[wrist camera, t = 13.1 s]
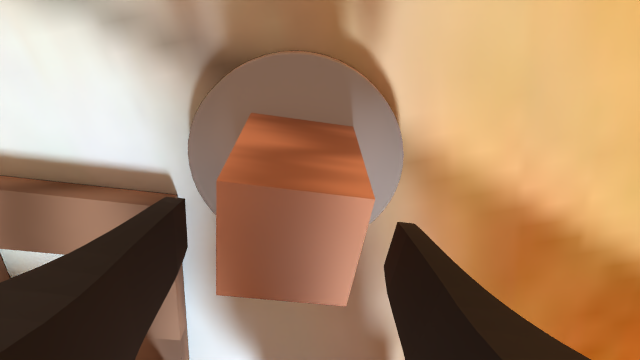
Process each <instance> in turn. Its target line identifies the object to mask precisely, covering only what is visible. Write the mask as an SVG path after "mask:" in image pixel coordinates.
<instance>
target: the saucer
mask: <svg viewBox="0 0 640 360" xmlns="http://www.w3.org/2000/svg"><path fill="white" fill-rule="evenodd" d="M251 113H257V114H265V115H272V116H279V117H287V118H294V119H301V120H308V121H316V122H323V123H330V124H338V125H345V126H352V127H354V131H355V134H356V137H357V141H358V144H359V147H360V150H361V154H362V157H363V160H364V164H365V167H366V170H367V174H368V177H369V180H370V184H371V187H372V190H373V194H374V197H375V202H374V206H373V210H372V213H371V217H370V221H369V224H370V223H371V222H372V221H374V220H375V219H376V218H377V217H378V216H379V215H380V213H381V212H382V211H383V210H384V209H385V207H386V206H387V204H388V203H389V202H390V200H391V198H392V196H393V194H394V193H395V191H396V188H397V186H398V183H399V180H400V176H401V172H402V167H403V155H404V154H403V141H402V137H401V132H400V128H399V125H398V123H397V120H396V117H395V115H394V113H393V112H392V110H391V108H390V106H389V104H388V103H387V101H386V100H385V98H384V97H383V96H382V94H381V93H380V92H379V90H378V89H377V88H376V87H375V85H373V84H372V83H371V82H370V81H369V80H368V79H367V78H366V77H365V76H364V75H363V74H361V73H360V72H359V71H357V70H356V69H354V68H353V67H351V66H349V65H347V64H346V63H344V62H342V61H340V60H337V59H335V58H332V57H329V56H326V55H322V54H318V53H313V52H305V51H282V52H276V53H271V54H266V55H263V56H260V57H257V58H254V59H251V60H249V61H247V62H245V63H244V64H242V65H240V66H238V67H236V68H235V69H234V70H232V71H231V72H230V73H228V74H227V75H226V76H225V77H224V78H223V79H221V80H220V81H219V82H218V83H217V84H216V85H215V86H214V87H213V88H212V89H211V90H210V92H209V93H208V94H207V96H206V97H205V98H204V100H203V101H202V102H201V104H200V106H199V108H198V110H197V112H196V114H195V116H194V119H193V122H192V125H191V129H190V134H189V140H188V157H189V165H190V169H191V173H192V177H193V180H194V182H195V185H196V187H197V189H198V191H199V193H200V195H201V196H202V198H203V200H204V201H205V203H206V204H207V205H208V206H209V208H210V209H211V210H212V211H213V212H214V213H215V214H216V181H217V179H218V177H219V175H220V173H221V171H222V169H223V167H224V165H225V163H226V161H227V159H228V157H229V155H230V153H231V151H232V149H233V147H234V145H235V143H236V141H237V139H238V137H239V135H240V133H241V131H242V129H243V128H244V126H245V124H246V122H247V120H248V118H249V116H250V114H251ZM369 224H368V225H369Z"/></svg>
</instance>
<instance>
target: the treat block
mask: <svg viewBox="0 0 640 360" xmlns="http://www.w3.org/2000/svg"><path fill="white" fill-rule="evenodd" d="M374 202H375V197H374V194H373V190H372V187H371V184H370V180H369V177H368V174H367V170H366V167H365V164H364V160H363V157H362V154H361V150H360V147H359V144H358V141H357V137H356V134H355V131H354V127H352V126H345V125H338V124H330V123H323V122H316V121H308V120H301V119H294V118H287V117H279V116H272V115H265V114H257V113H251V114H250V116H249V118H248V120H247V122H246V124H245V126H244V128H243V129H242V131H241V133H240V135H239V137H238V139H237V141H236V143H235V145H234V147H233V149H232V151H231V153H230V155H229V157H228V159H227V161H226V163H225V165H224V167H223V169H222V171H221V173H220V175H219V177H218V179H217V181H216V295H222V296H234V297H245V298H256V299H267V300H279V301H290V302H301V303H313V304H324V305H335V306H347V302H348V298H349V294H350V291H351V287H352V283H353V280H354V276H355V272H356V269H357V265H358V261H359V258H360V254H361V250H362V247H363V243H364V239H365V235H366V232H367V228H368V224H369V221H370V217H371V213H372V210H373V206H374Z"/></svg>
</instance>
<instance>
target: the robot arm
mask: <svg viewBox="0 0 640 360" xmlns="http://www.w3.org/2000/svg"><path fill="white" fill-rule="evenodd" d="M187 248H188V245H187V227H186V210H185V199H183V198H174V197H164V198H163V199H161V200H159V201H158V202H156V203H154V204H153V205H151V206H150V207H148V208H146V209H145V210H143V211H142V212H140V213H138V214H137V215H135V216H134V217H132V218H130V219H129V220H127V221H126V222H124V223H122V224H121V225H119V226H117V227H116V228H114V229H112V230H111V231H109V232H107V233H105V234H103V235H102V236H100V237H98V238H96V239H94V240H93V241H91V242H89V243H87V244H85V245H84V246H82V247H80V248H78V249H76V250H74V251H72V252H70V253H68V254H66V255H64V256H62V257H60V258H57V259H55V260H53V261H51V262H49V263H47V264H44V265H42V266H40V267H38V268H35V269H33V270H30V271H28V272H25V273H23V274H20V275H18V276H15V277H13V278H10V279H8V280H5V281H3V282H0V360H135V359H136V356H137V354H138V351H139V349H140V347H141V345H142V343H143V340H144V338H145V336H146V334H147V332H148V330H149V329H150V327H151V325H152V323H153V321H154V319H155V317H156V315H157V313H158V311H159V310H160V308H161V306H162V304H163V302H164V300H165V298H166V296H167V294H168V292H169V290H170V288H171V287H172V285H173V283H174V281H175V279H176V277H177V275H178V272H179V270H180V267H181V264H182V262H183V259H184V256H185V253H186V250H187ZM384 272H385V281H386V287H387V294H388V298H389V301H390V305H391V309H392V313H393V316H394V320H395V323H396V327H397V331H398V334H399V338H400V341H401V345H402V349H403V352H404V356H405V360H591V359H589V358H587V357H585V356H584V355H582V354H580V353H578V352H577V351H575V350H573V349H571V348H570V347H568V346H566V345H565V344H563V343H561V342H560V341H558V340H556V339H555V338H553V337H551V336H550V335H548V334H547V333H545V332H544V331H542V330H541V329H539V328H538V327H536V326H535V325H533V324H531V323H530V322H528V321H527V320H525V319H524V318H523V317H521V316H520V315H518V314H517V313H515V312H514V311H513V310H511V309H510V308H509V307H507V306H506V305H505V304H503V303H502V302H501V301H499V300H498V299H497V298H495V297H494V296H493V295H491V294H490V293H489V292H488V291H486V290H485V289H484V288H483V287H482V286H480V285H479V284H478V283H477V282H476V281H475V280H474V279H472V278H471V277H470V276H469V275H468V274H467V273H466V272H464V271H463V270H462V269H461V268H460V267H459V266H458V265H457V264H456V263H455V262H454V261H453V260H452V259H451V258H449V257H448V256H447V255H446V254H445V253H444V252H443V251H442V250H441V249H440V248H439V247H438V246H437V245H436V244H435V243H434V242H433V241H432V240H431V239H430V238H429V237H428V236H427V235H426V234H425V233H424V232H423V231H422V230H421V229H420V228H419V227H418V226H417V225H415V224H412V223H403V222H397V225H396V229H395V232H394V235H393V238H392V241H391V245H390V248H389V251H388V254H387V257H386V261H385V264H384Z"/></svg>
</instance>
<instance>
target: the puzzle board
mask: <svg viewBox="0 0 640 360" xmlns="http://www.w3.org/2000/svg"><path fill="white" fill-rule="evenodd" d="M164 197H174V198H177V195H173V194H163V193H154V192H145V191H136V190H127V189H118V188H108V187H99V186H90V185H81V184H72V183H63V182H53V181H44V180H35V179H26V178H17V177H8V176H0V249H10V250H21V251H32V252H43V253H53V254H64V255H66V254H68V253H70V252H72V251H74V250H76V249H78V248H80V247H82V246H84V245H85V244H87V243H89V242H91V241H93V240H94V239H96V238H98V237H100V236H102V235H103V234H105V233H107V232H109V231H111V230H112V229H114V228H116V227H117V226H119V225H121V224H122V223H124V222H126V221H127V220H129V219H130V218H132V217H134V216H135V215H137V214H138V213H140V212H142V211H143V210H145V209H146V208H148V207H150V206H151V205H153V204H154V203H156V202H158V201H159V200H161V199H163V198H164ZM8 279H10V277H9V275H8V272H7V270H6V268H5V265H4V263H3V260H2V258H1V255H0V282H3V281H5V280H8ZM135 360H189V351H188V337H187V323H186V309H185V295H184V281H183V267H182V264H181V267H180V270H179V272H178V275H177V277H176V279H175V281H174V283H173V285H172V287H171V288H170V290H169V292H168V294H167V296H166V298H165V300H164V302H163V304H162V306H161V308H160V310H159V311H158V313H157V315H156V317H155V319H154V321H153V323H152V325H151V327H150V329H149V330H148V332H147V334H146V336H145V338H144V340H143V343H142V345H141V347H140V349H139V351H138V354H137V356H136V359H135Z"/></svg>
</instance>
